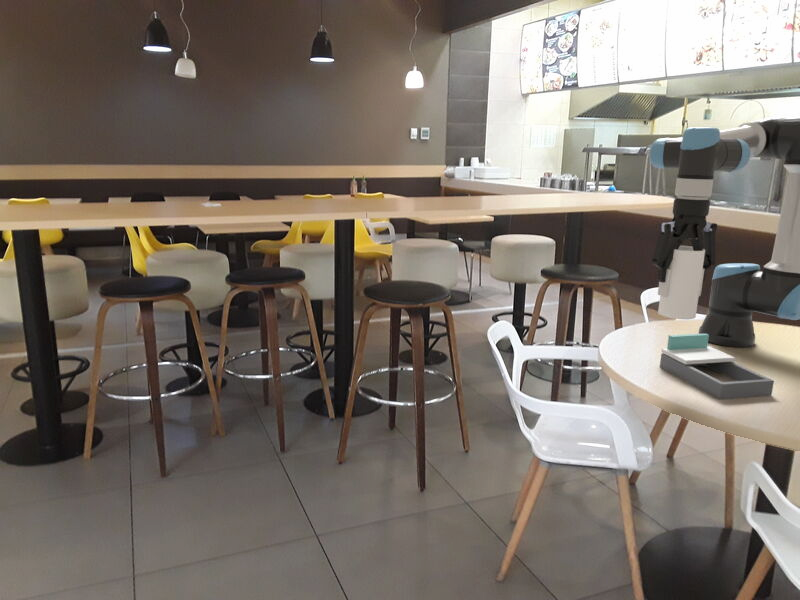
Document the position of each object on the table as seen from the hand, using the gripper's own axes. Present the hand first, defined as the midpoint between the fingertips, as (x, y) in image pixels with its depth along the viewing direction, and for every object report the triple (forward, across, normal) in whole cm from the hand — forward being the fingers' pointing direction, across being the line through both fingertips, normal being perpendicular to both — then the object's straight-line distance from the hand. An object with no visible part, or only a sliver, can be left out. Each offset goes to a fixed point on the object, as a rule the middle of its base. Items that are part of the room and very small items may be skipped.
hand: (679, 295), depth 147 cm
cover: (+18, -12, -5) cm, 22 cm away
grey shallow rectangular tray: (+21, -12, +2) cm, 25 cm away
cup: (+5, 0, 0) cm, 5 cm away
